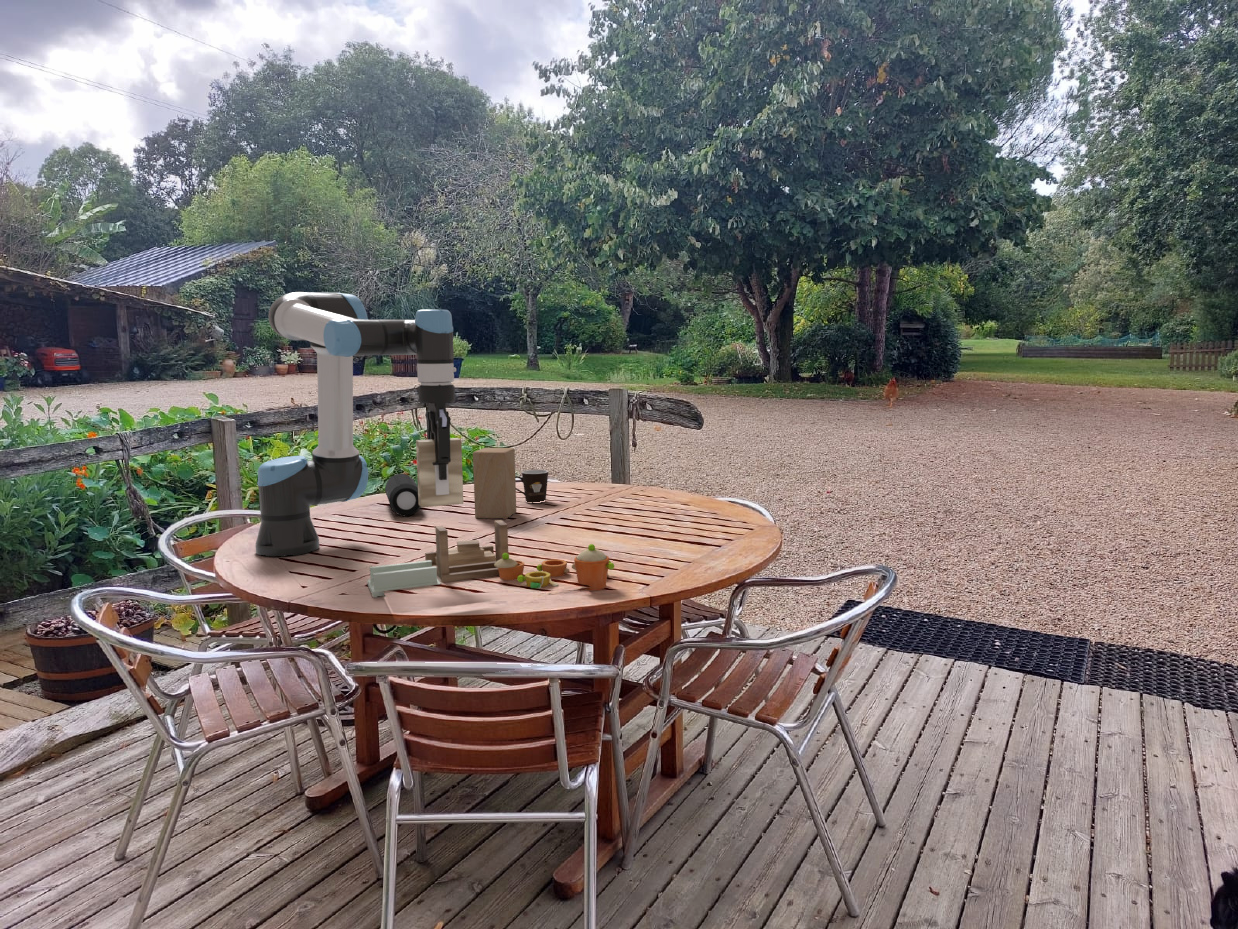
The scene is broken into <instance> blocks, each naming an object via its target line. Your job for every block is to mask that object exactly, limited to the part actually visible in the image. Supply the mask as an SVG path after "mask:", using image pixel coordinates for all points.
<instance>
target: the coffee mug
mask: <svg viewBox="0 0 1238 929" xmlns="http://www.w3.org/2000/svg"><path fill="white" fill-rule="evenodd" d="M521 476H522V477H521ZM521 476H519V475H515V479H519V480H520V481H521V482H522V485H523V490H524V491H522V490H520V489H519V488H517V487H516V492H517V491H518V492H519V493H520V494H523V495H524V498H525V502H526V501H527V502H540V501H544V500H547V490H548V480H549V479H548V478H549V470H546V469H528V470H527V469H526V470H523V471H521Z"/></svg>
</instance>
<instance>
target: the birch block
mask: <svg viewBox="0 0 1238 929" xmlns="http://www.w3.org/2000/svg"><path fill="white" fill-rule="evenodd" d="M462 446H463V445H462V439H460V438H459V437H450V458H451V462H449V463H448V476H449V494H446V495H436V487H435V465H433V462H436V456H435V441H434V439H431V440H428V439H416V440H415V449H416V450H415V452H416V471H417V473H416V474H417V477H416V478H417V486H418V501H419V506H421V507H420V508H430V507H431V508H433V507H440V506H441V507H443V506H444V507H445V506H452V505H453V506H455V505H463V504H464V482H463V481H464V480H463V479H464V478H463V453H462V452H463V451H462V450H463V448H462Z"/></svg>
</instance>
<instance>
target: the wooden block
mask: <svg viewBox="0 0 1238 929" xmlns="http://www.w3.org/2000/svg"><path fill="white" fill-rule="evenodd" d="M515 454H516V453H515V448H514V447H483V448H480V449H478V450H475V451H473V452H472V464H473V466H472V467H473V469H472V470H473V471H472V472H473V492H474V493H473V494H474V495H473V496H474V498H473V499H474V517H475V519H485V518H503V519H502V520H507V519H509V518H510V517H512V516H513V515H515V514H516V513H517V490H516V488H517V487H516V484H517V483H516V482H517V481H516V478H515V476H516V456H515ZM512 514H513V515H512ZM511 515H512V516H511ZM508 517H509V518H508Z"/></svg>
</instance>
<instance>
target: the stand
mask: <svg viewBox="0 0 1238 929" xmlns="http://www.w3.org/2000/svg"><path fill="white" fill-rule="evenodd" d="M369 573H370V575H369V577H370V578H369V579H367V582H366V583H367V586H368V590H369V591H370V593H372V594H371V596H372V597H375V598H378V597H377V596H383V597H386V595H385V592H386V591H388V592H389V591H397V590H404V589H412V588H419V587H427V586H436V585H442V582H439V580H438V579H437V568H436V566H433V567H432V561H431V560H427V561H425V560H421V561H420V560H418V561H412V562H411V561H410V562H402V563H392V564H384V565H383V564H381V565H377V566H369Z"/></svg>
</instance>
